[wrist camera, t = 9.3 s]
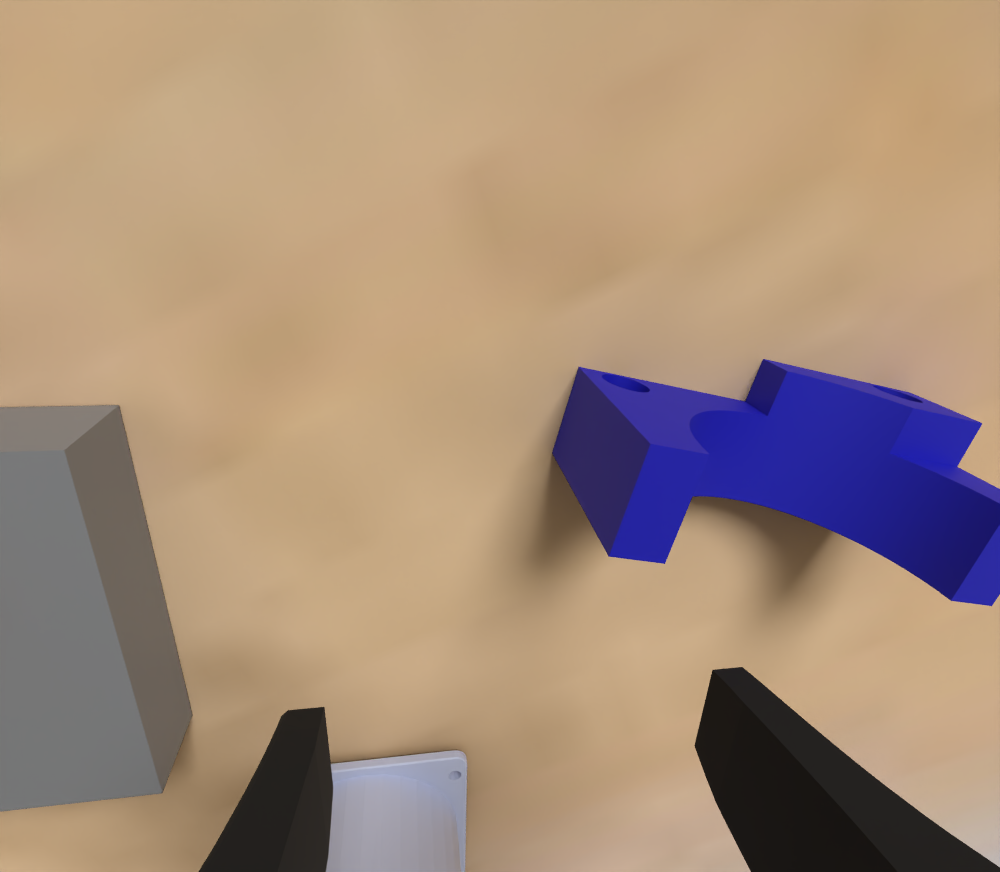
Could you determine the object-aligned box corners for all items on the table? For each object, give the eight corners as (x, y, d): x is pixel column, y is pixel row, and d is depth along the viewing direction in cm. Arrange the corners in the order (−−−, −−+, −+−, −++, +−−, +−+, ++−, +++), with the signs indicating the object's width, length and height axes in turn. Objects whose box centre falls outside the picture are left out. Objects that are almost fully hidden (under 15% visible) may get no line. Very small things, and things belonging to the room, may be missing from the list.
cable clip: (906, 391, 21) (1085, 467, 15) (848, 501, 22) (991, 605, 17) (591, 318, 18) (674, 380, 13) (551, 451, 20) (609, 556, 14)
